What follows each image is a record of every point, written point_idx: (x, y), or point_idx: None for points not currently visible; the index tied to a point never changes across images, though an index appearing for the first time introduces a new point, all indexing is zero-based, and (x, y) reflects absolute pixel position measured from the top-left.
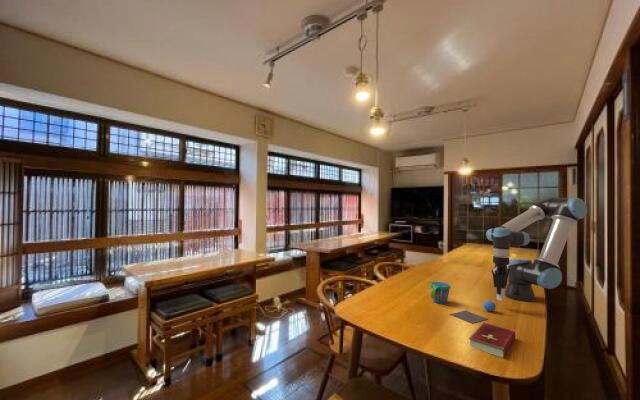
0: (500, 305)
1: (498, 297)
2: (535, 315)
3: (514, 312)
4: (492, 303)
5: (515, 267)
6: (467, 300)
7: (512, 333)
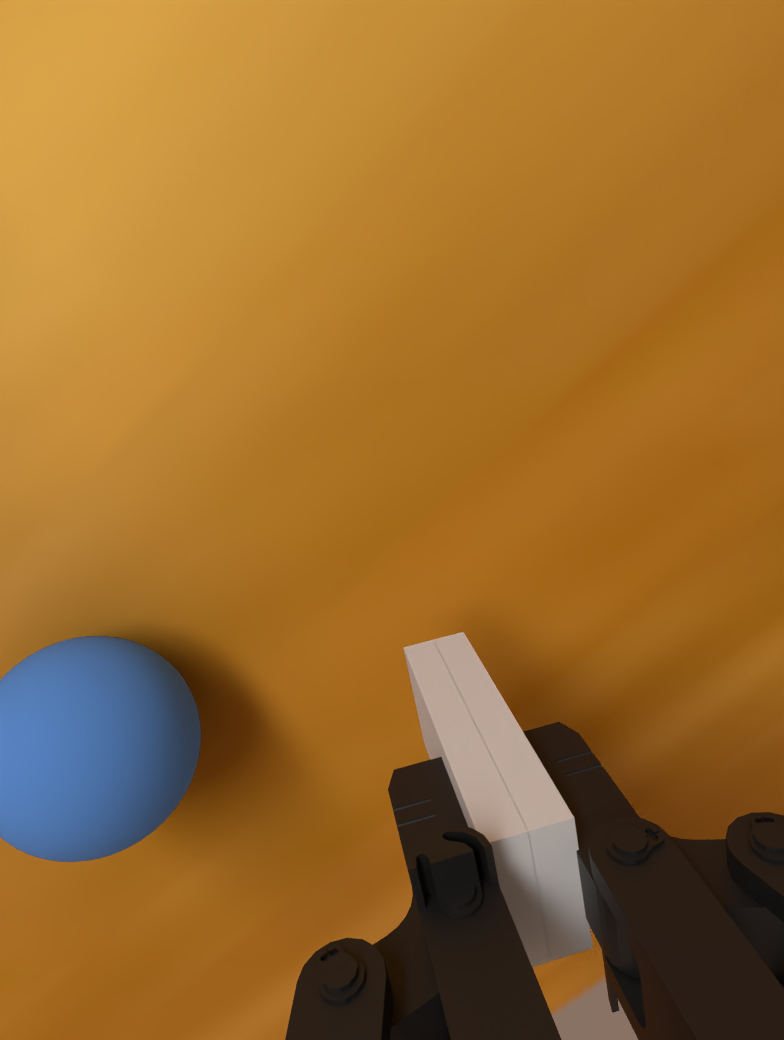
0: (560, 491)
1: (422, 715)
2: None
3: None
4: (71, 859)
5: None
6: (94, 49)
7: None
